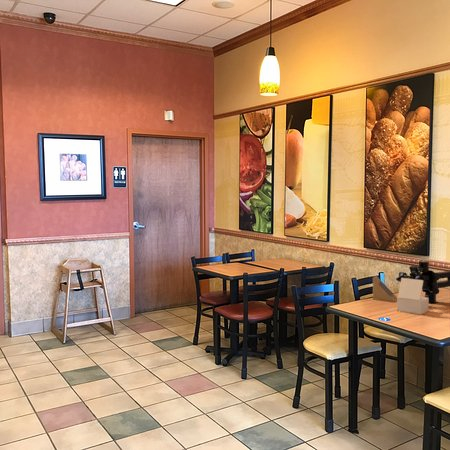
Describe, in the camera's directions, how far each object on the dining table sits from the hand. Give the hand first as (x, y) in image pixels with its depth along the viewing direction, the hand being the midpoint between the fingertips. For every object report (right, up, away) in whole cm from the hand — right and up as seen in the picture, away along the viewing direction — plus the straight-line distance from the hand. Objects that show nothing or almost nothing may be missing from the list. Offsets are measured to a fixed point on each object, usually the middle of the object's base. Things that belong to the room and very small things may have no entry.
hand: (402, 280), depth 298 cm
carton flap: (+1, -4, -12) cm, 12 cm away
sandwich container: (-2, -15, +22) cm, 27 cm away
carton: (+3, -17, -8) cm, 19 cm away
